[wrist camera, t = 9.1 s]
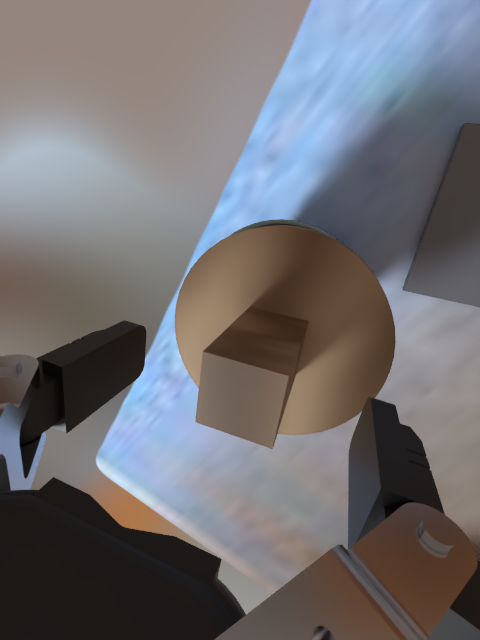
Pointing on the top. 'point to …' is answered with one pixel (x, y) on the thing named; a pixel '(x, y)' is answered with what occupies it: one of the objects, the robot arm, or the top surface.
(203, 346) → the lid
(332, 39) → the top surface
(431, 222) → the mat
